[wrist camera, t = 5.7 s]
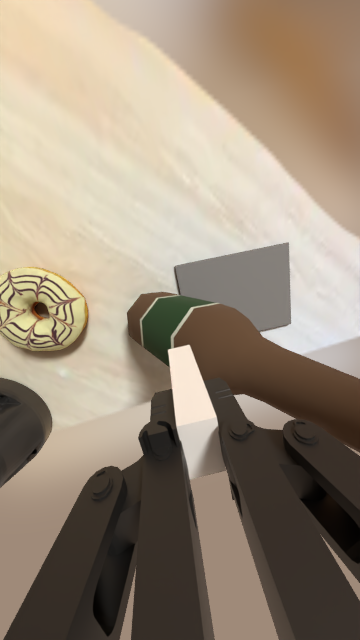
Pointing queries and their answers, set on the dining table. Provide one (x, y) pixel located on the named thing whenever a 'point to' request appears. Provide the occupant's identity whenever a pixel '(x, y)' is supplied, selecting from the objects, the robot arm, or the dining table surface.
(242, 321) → the beer bottle
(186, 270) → the mat
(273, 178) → the dining table surface
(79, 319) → the decorated donut
